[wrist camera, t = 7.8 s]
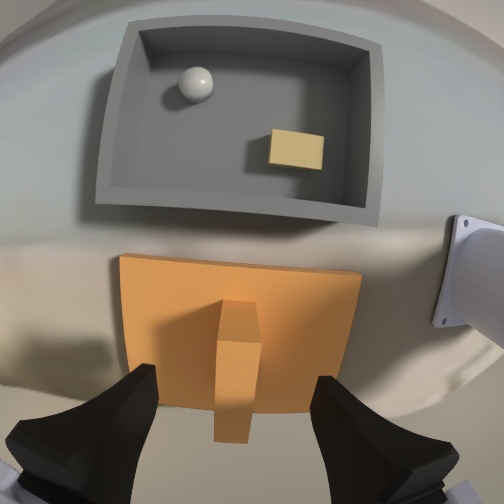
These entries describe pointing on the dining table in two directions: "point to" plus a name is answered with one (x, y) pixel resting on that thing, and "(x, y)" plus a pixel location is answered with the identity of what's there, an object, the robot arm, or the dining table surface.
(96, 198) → the tub
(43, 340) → the dining table surface
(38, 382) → the dining table surface
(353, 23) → the dining table surface
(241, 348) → the lid
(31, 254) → the dining table surface
